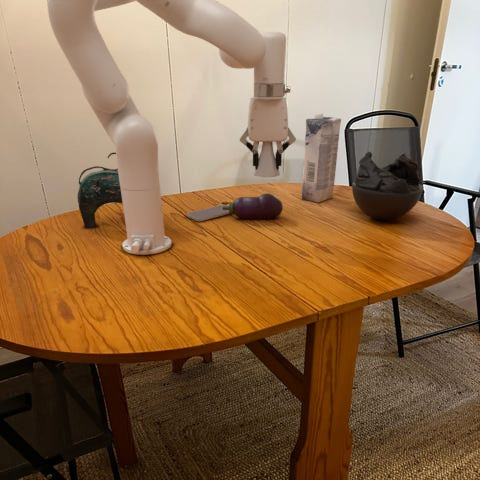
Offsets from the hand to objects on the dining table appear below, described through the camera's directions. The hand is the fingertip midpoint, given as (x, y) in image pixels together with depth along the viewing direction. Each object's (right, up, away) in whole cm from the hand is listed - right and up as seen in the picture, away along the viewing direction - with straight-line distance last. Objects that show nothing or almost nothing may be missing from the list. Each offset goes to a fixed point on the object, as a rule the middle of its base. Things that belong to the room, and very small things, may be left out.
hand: (266, 168), depth 118 cm
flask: (0, -2, +1) cm, 2 cm away
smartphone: (-16, -7, +22) cm, 28 cm away
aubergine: (-3, -9, +19) cm, 21 cm away
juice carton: (+20, +2, +37) cm, 42 cm away
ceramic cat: (-44, -12, +15) cm, 48 cm away
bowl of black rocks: (+36, -10, +18) cm, 41 cm away
